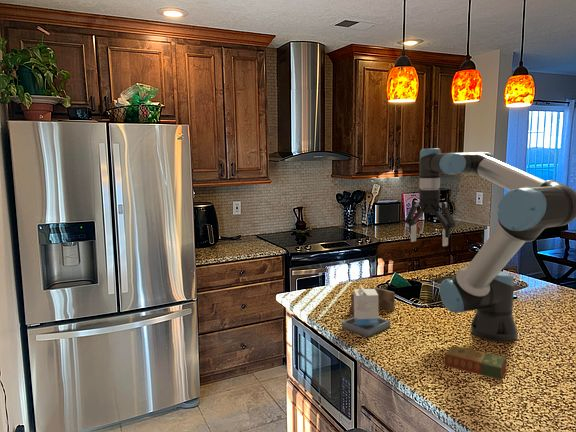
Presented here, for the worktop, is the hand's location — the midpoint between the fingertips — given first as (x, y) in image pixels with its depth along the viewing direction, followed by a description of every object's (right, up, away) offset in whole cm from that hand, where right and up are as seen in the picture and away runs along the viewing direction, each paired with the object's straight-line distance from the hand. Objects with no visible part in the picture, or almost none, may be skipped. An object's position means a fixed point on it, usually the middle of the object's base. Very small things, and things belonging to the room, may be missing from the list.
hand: (428, 243), depth 167 cm
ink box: (-25, -30, -3) cm, 39 cm away
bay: (-19, -30, +14) cm, 38 cm away
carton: (+3, -36, -35) cm, 51 cm away
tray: (-25, -32, -3) cm, 41 cm away
